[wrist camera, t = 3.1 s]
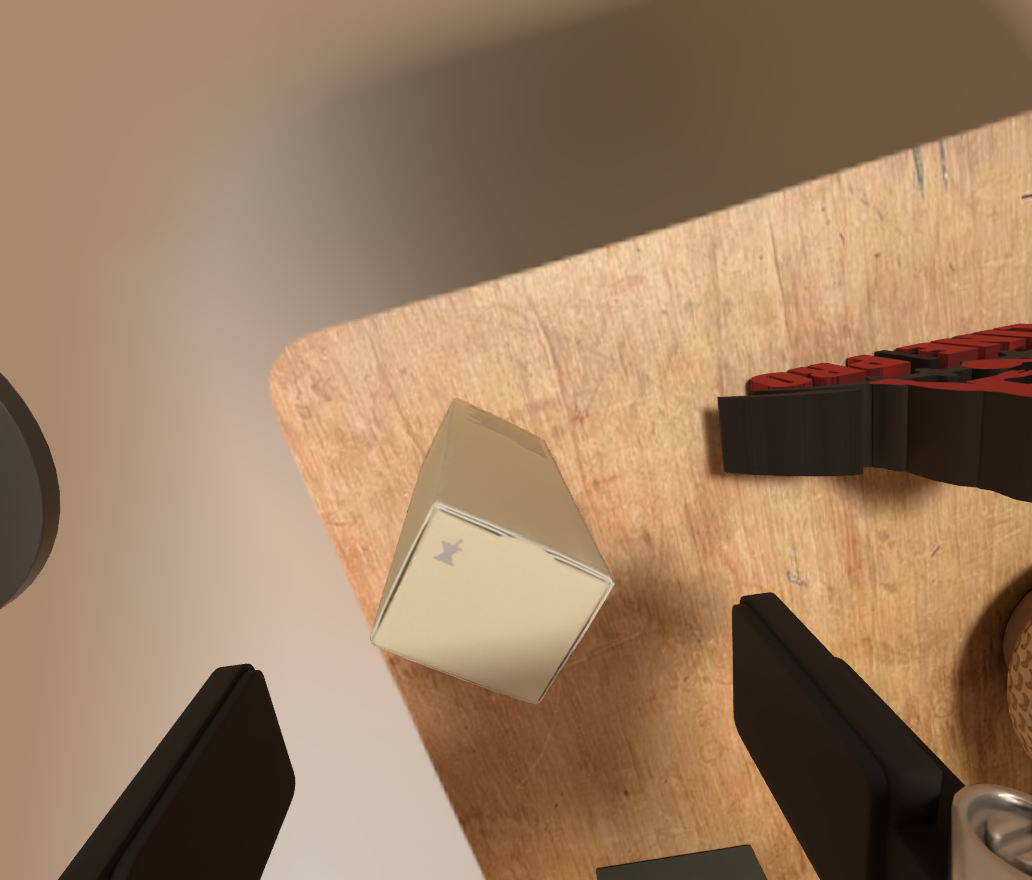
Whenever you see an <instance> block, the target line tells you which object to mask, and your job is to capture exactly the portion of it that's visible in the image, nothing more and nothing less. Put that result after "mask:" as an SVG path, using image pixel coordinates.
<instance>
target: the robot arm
mask: <svg viewBox="0 0 1032 880" xmlns="http://www.w3.org/2000/svg"><path fill="white" fill-rule="evenodd" d="M732 642H733V707H734V720H735V724H736V728H737V731H738V733H739V735H740V737H741V739H742V741H743V743H744V744H745V746H746V748H747V750H748V752H749V753H750V755H751V757H752V759H753V761H754V762H755V764H756V766H757V768H758V769H759V771H760V773H761V775H762V777H763V778H764V780H765V782H766V784H767V786H768V787H769V789H770V791H771V793H772V794H773V796H774V798H775V800H776V802H777V803H778V805H779V807H780V809H781V811H782V812H783V814H784V816H785V818H786V819H787V821H788V823H789V825H790V827H791V828H792V830H793V832H794V834H795V836H796V837H797V839H798V841H799V843H800V844H801V846H802V848H803V850H804V852H805V853H806V855H807V857H808V859H809V861H810V862H811V864H812V866H813V868H814V869H815V871H816V873H817V875H818V877H819V878H820V880H1032V795H1029V794H1027V793H1025V792H1022V791H1020V790H1017V789H1013V788H1009V787H1005V786H1002V785H998V784H982V783H978V784H973V785H969V786H965V785H964V784H963V783H962V782H961V781H960V780H959V779H958V778H957V777H956V776H955V775H954V774H953V773H952V772H951V771H950V769H949V768H948V767H947V766H946V765H945V764H944V763H943V762H942V761H941V760H940V759H939V758H938V757H937V756H936V755H935V754H934V753H933V752H932V751H931V750H930V749H929V748H928V747H927V746H926V745H925V744H924V743H923V741H922V740H921V739H920V738H919V737H918V736H917V735H916V734H915V733H914V732H913V731H912V730H911V729H910V728H909V727H908V726H907V725H906V724H905V723H904V722H903V721H902V720H901V719H900V718H899V717H898V716H897V715H896V713H895V712H894V711H893V710H892V709H891V708H890V707H889V706H888V705H887V704H886V703H885V702H884V701H883V700H882V699H881V698H880V697H879V696H878V695H877V694H876V693H875V692H874V691H873V690H872V689H871V688H870V687H869V685H868V684H867V683H866V682H865V681H864V680H863V679H862V678H861V677H860V676H859V675H858V674H857V673H856V672H855V671H854V670H853V669H852V668H851V667H850V666H849V665H848V664H847V663H846V662H844V661H843V660H842V659H840V658H837V657H834V656H833V655H832V654H831V653H830V652H829V651H828V650H827V649H826V648H825V646H824V645H823V644H822V643H821V642H820V641H819V640H818V639H817V638H816V637H815V636H814V635H813V634H812V633H811V632H810V631H809V630H808V628H807V627H806V626H805V625H804V624H803V623H802V622H801V621H800V620H799V619H798V618H797V617H796V616H795V615H794V614H793V613H792V612H791V611H790V609H789V608H788V607H787V606H786V605H785V604H784V603H783V602H782V601H781V600H780V599H779V598H778V597H777V596H776V595H775V594H774V593H771V592H769V593H761V594H754V595H747V596H743V597H741V599H740V604H738V605H734V606H733V608H732ZM294 791H295V776H294V771H293V768H292V765H291V762H290V759H289V755H288V753H287V749H286V746H285V743H284V740H283V736H282V733H281V730H280V726H279V724H278V720H277V717H276V714H275V710H274V707H273V704H272V701H271V698H270V694H269V691H268V688H267V685H266V682H265V678H264V675H263V674H262V672H261V671H260V670H255V669H254V667H253V666H252V665H251V664H241V665H233V666H226V667H220V668H217V669H216V670H215V671H214V672H213V673H212V674H211V676H210V677H209V678H208V680H207V681H206V682H205V684H204V685H203V686H202V688H201V689H200V690H199V692H198V693H197V694H196V696H195V697H194V698H193V700H192V701H191V703H190V704H189V705H188V706H187V708H186V709H185V710H184V712H183V713H182V714H181V716H180V717H179V718H178V720H177V721H176V722H175V724H174V725H173V726H172V728H171V729H170V730H169V732H168V733H167V734H166V736H165V737H164V738H163V740H162V741H161V743H160V744H159V745H158V746H157V748H156V749H155V750H154V752H153V753H152V754H151V756H150V757H149V759H148V760H147V761H146V763H145V764H144V765H143V767H142V768H141V769H140V771H139V772H138V773H137V775H136V776H135V777H134V779H133V780H132V781H131V783H130V784H129V785H128V787H127V788H126V789H125V791H124V792H123V793H122V795H121V796H120V797H119V799H118V800H117V801H116V803H115V804H114V805H113V807H112V808H111V809H110V811H109V812H108V814H107V815H106V816H105V818H104V819H103V820H102V821H101V823H100V824H99V825H98V827H97V828H96V829H95V831H94V832H93V834H92V835H91V836H90V837H89V839H88V840H87V841H86V843H85V844H84V845H83V847H82V848H81V850H80V851H79V852H78V854H77V855H76V856H75V857H74V859H73V860H72V861H71V863H70V864H69V866H68V867H67V868H66V870H65V871H64V872H63V874H62V875H61V876H60V878H59V879H58V880H260V878H261V876H262V873H263V871H264V868H265V866H266V864H267V861H268V859H269V856H270V854H271V851H272V849H273V846H274V844H275V841H276V839H277V836H278V834H279V831H280V828H281V826H282V824H283V821H284V819H285V816H286V814H287V811H288V809H289V806H290V804H291V801H292V798H293V795H294Z"/></svg>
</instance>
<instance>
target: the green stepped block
mask: <svg viewBox="0 0 1032 880" xmlns="http://www.w3.org/2000/svg"><path fill="white" fill-rule="evenodd" d="M596 874H597V880H767V878H766V876H765V874H764V872H763V870H762V868H761V866H760V864H759V862H758V860H757V858H756V855H755V853H754V851H753V849H752V847H751V846H750V845H747V846H740V847H734V848H728V849H721V850H715V851H709V852H702V853H696V854H690V855H683V856H677V857H671V858H664V859H658V860H651V861H645V862H639V863H632V864H626V865H620V866H613V867H607V868H601V869H597V870H596Z"/></svg>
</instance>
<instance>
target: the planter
mask: <svg viewBox="0 0 1032 880" xmlns="http://www.w3.org/2000/svg"><path fill="white" fill-rule="evenodd" d="M1003 653H1004V659H1005V663H1006V665H1007V668H1008V670H1009V671H1008V675H1007V701H1008V707H1009V713H1010V717H1011V721H1012V724H1013V727H1014V730H1015V732H1016V735H1017V737H1018V740H1019V741H1020V743H1021V745H1022V747H1023V748H1024V750H1025V752H1026V753H1027V755H1028V756H1029V758H1030V759H1031V761H1032V590H1031V591H1030V592H1029V593H1028V594H1027V595H1026V596H1025V597H1024V598H1023V599H1022V600H1021V602H1020V603H1019V604H1018V606H1017V607H1016V608H1015V610H1014V612H1013V613H1012V615H1011V617H1010V619H1009V621H1008V624H1007V627H1006V629H1005V634H1004V638H1003Z"/></svg>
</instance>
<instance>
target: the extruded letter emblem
mask: <svg viewBox="0 0 1032 880" xmlns="http://www.w3.org/2000/svg"><path fill="white" fill-rule="evenodd" d="M750 385H751V396H731V397H717V398H718V410H719V422H720V434H721V446H722V458H723V470H724V472H727V473H737V474H750V475H773V476H846V475H860V474H863V467H875V468H885V469H889V470H894V471H907V472H910V473H913V474H916V475H919V476H922V477H925V478H928V479H931V480H935V481H939V482H944V483H948V484H953V485H958V486H967V487H977V488H980V489H985V490H992V491H995V492H997V493H1000V494H1002V495H1005V496H1008V497H1010V498H1013V499H1016V500H1021V501H1026V502H1032V324H1015V325H1010V326H1005V327H1000V328H995V329H993V330H985V331H980V332H975V333H973V335H971V334H965V335H960V336H955V337H954V338H953V339H947V338H946V339H941V340H935V341H931V343H920V344H915V345H910V346H905V347H900V348H896V352H894V351H886V350H882V351H877V352H875V356H869V355H860V356H855V357H850V358H848V367H844V366H839V365H834V364H829V363H820V364H815V365H810V366H808V368H805V367H800V368H795V369H790V370H788V373H785V372H780V373H769V374H764V375H759V376H755V377H752V378H751V379H750Z"/></svg>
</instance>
